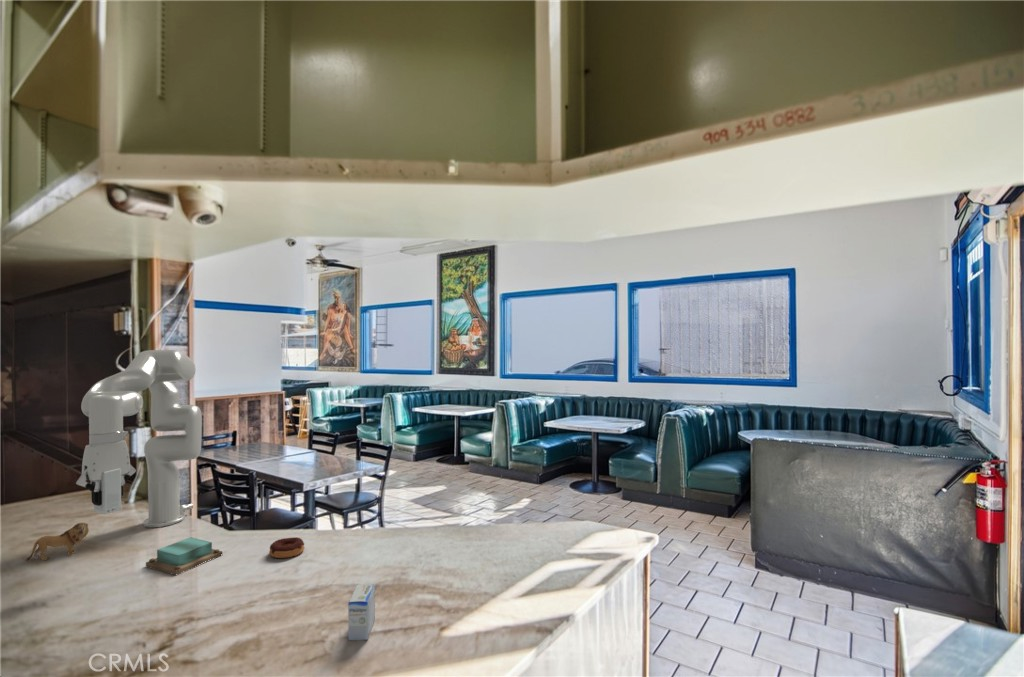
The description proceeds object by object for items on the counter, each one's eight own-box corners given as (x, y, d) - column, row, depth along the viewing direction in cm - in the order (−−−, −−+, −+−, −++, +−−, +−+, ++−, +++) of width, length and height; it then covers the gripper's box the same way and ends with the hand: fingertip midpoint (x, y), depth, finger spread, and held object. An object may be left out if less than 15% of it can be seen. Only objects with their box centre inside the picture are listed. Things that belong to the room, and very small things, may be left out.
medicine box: (356, 620, 117) (355, 584, 117) (375, 619, 118) (375, 583, 118) (348, 641, 109) (347, 602, 109) (368, 640, 110) (368, 601, 110)
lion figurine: (89, 546, 161) (88, 519, 161) (88, 552, 157) (88, 523, 157) (26, 559, 152) (25, 530, 152) (23, 566, 148) (23, 535, 148)
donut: (310, 547, 159) (310, 535, 159) (294, 561, 150) (294, 548, 150) (280, 546, 160) (280, 534, 160) (262, 560, 151) (262, 546, 150)
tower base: (193, 547, 159) (192, 533, 159) (222, 555, 154) (222, 540, 154) (145, 566, 147) (145, 551, 147) (176, 575, 141) (175, 559, 141)
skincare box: (122, 510, 142) (121, 468, 142) (104, 515, 138) (103, 472, 138) (110, 507, 145) (110, 466, 145) (93, 511, 141) (92, 469, 141)
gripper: (132, 431, 151) (133, 491, 151) (63, 443, 135) (64, 509, 136) (146, 433, 147) (147, 495, 148) (77, 445, 132) (78, 513, 132)
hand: (107, 501), depth 142 cm, fingers closed on skincare box, 4 cm apart
